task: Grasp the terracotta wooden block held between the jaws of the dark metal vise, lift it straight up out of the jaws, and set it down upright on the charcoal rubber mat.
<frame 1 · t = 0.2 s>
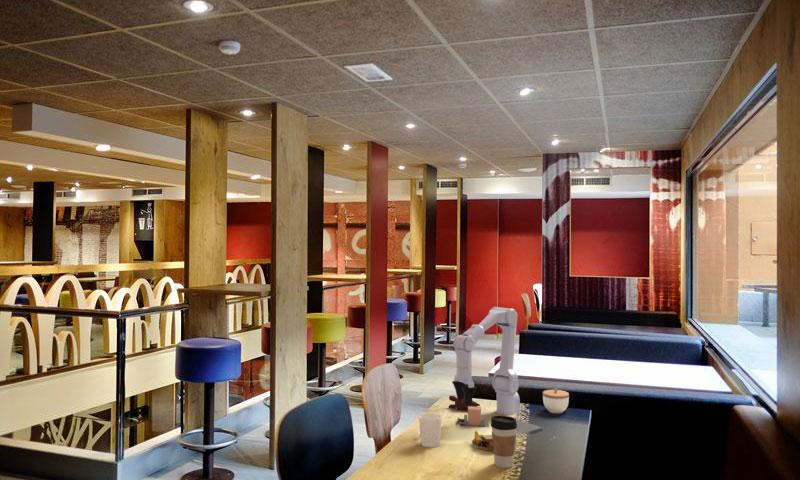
hand: (464, 402, 232), 10 cm above the table, tool pointing down, fingers open, 7 cm apart
white cup: (430, 445, 212), on the table
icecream: (463, 411, 253), on the table
coffee cup: (503, 465, 193), on the table
block: (474, 423, 233), point 1 cm above the table, touching vise
mat: (521, 429, 229), on the table
toy sandwich meal: (491, 446, 211), on the table
lidded jar: (555, 411, 253), on the table
vise: (474, 426, 233), on the table
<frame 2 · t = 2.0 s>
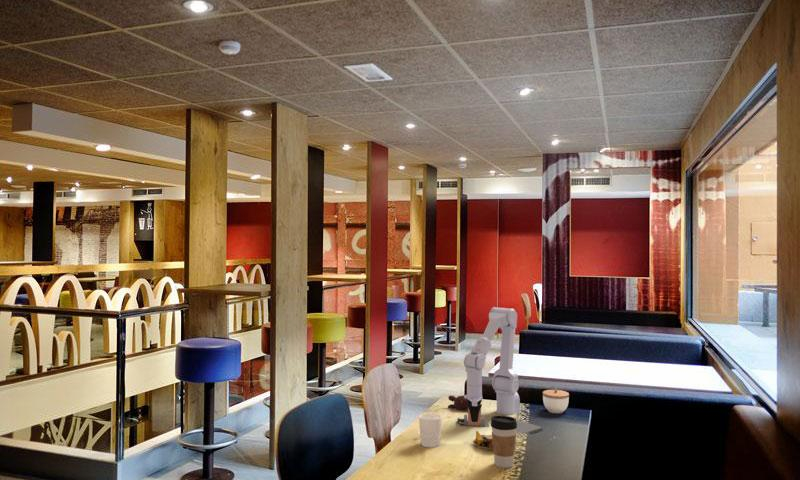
hand: (474, 419, 233), 2 cm above the table, tool pointing down, fingers closed on block, 4 cm apart
block: (474, 423, 233), point 1 cm above the table, touching gripper, vise
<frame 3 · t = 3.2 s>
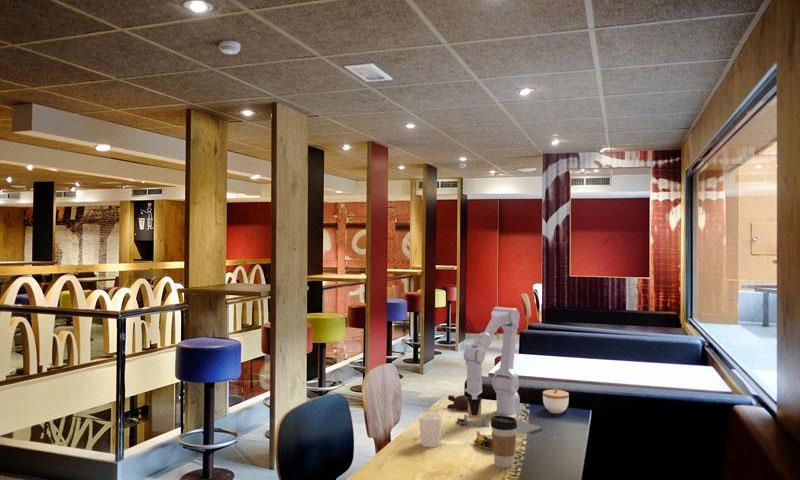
hand: (474, 413, 233), 5 cm above the table, tool pointing down, fingers closed on block, 4 cm apart
block: (474, 417, 233), point 3 cm above the table, touching gripper
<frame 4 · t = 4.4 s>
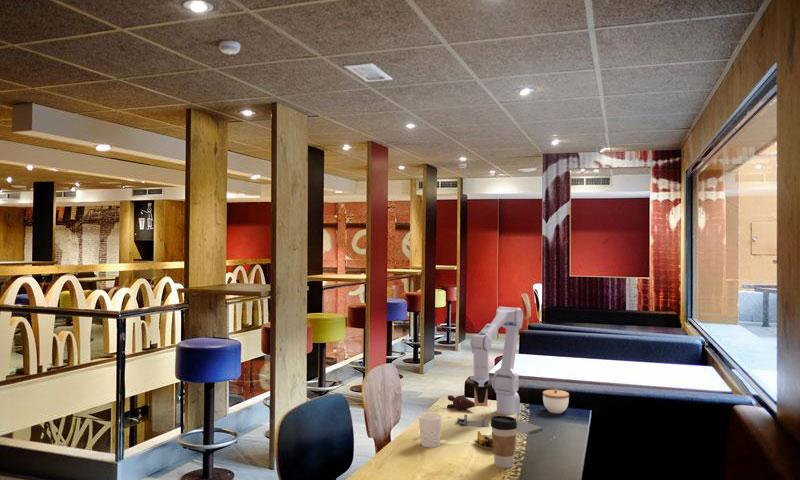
hand: (481, 401, 232), 10 cm above the table, tool pointing down, fingers closed on block, 4 cm apart
block: (480, 404, 232), point 8 cm above the table, touching gripper
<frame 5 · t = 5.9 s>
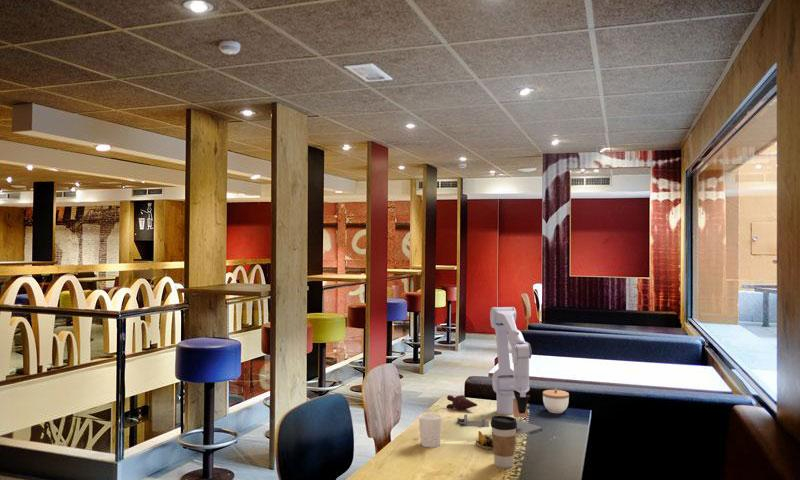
hand: (521, 411, 229), 7 cm above the table, tool pointing down, fingers closed on block, 4 cm apart
block: (520, 415, 229), point 5 cm above the table, touching gripper
when the fingers open (4 cm above the table, at t = 6.8 s): block drops 1 cm, resting on mat.
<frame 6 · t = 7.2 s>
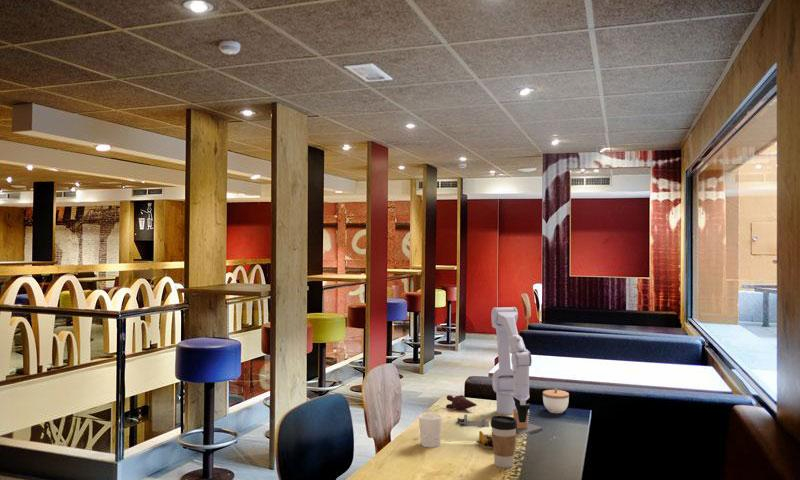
hand: (521, 419, 229), 4 cm above the table, tool pointing down, fingers open, 7 cm apart
block: (520, 426, 229), point 1 cm above the table, touching mat
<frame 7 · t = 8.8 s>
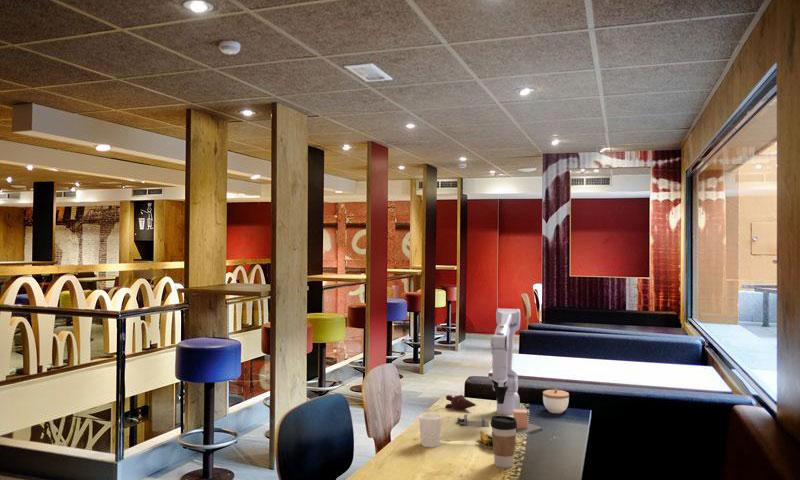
hand: (499, 400, 234), 9 cm above the table, tool pointing down, fingers open, 7 cm apart
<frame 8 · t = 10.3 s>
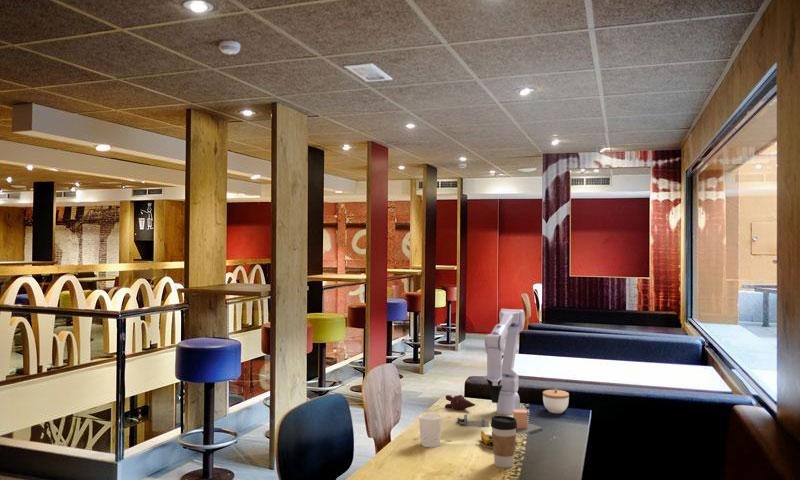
hand: (494, 399, 235), 9 cm above the table, tool pointing down, fingers open, 7 cm apart
at the end: block inside the target area on the mat (0.4 cm from its centre), point 1.0 cm above the mat's base; block tilted 0°; the gripper is holding nothing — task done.
